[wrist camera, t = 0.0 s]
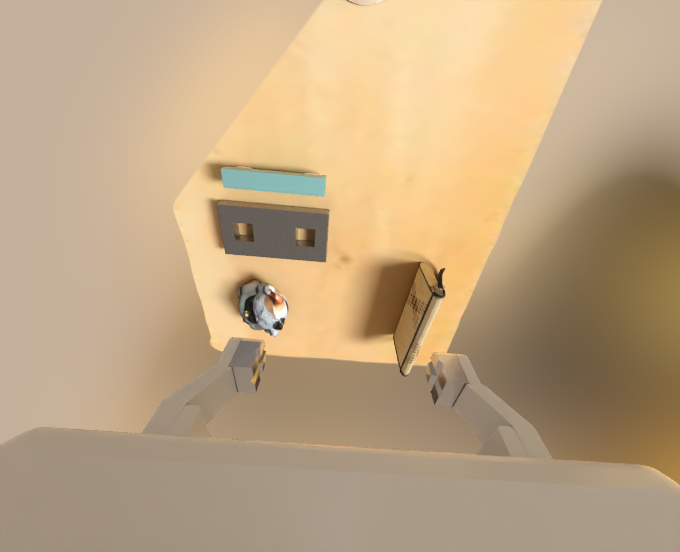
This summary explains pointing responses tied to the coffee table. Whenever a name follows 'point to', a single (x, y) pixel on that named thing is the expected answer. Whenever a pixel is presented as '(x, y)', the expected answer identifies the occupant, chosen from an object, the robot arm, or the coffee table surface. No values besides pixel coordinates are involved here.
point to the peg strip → (273, 181)
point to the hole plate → (273, 230)
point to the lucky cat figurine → (262, 307)
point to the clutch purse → (418, 316)
